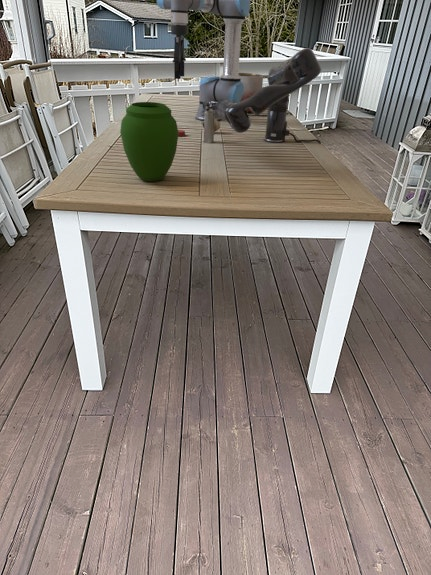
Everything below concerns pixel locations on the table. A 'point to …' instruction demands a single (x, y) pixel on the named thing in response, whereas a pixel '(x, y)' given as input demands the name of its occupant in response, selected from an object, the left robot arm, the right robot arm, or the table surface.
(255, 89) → the planter
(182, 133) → the lid
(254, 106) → the right robot arm
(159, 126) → the vase
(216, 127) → the seashell
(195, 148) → the table surface
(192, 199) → the table surface
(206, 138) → the jar
